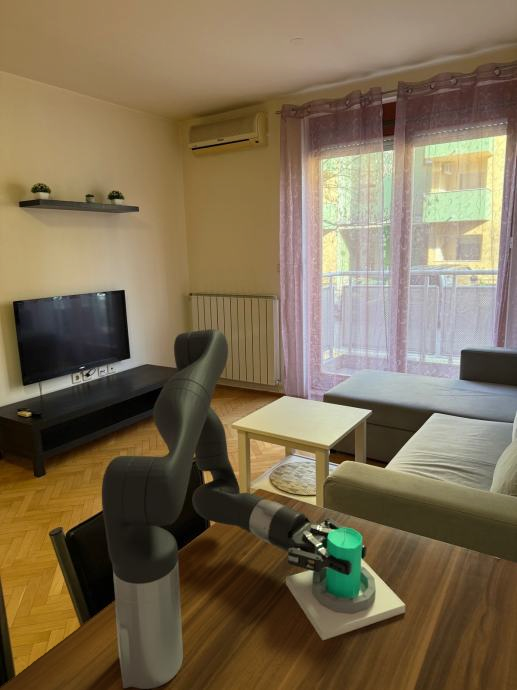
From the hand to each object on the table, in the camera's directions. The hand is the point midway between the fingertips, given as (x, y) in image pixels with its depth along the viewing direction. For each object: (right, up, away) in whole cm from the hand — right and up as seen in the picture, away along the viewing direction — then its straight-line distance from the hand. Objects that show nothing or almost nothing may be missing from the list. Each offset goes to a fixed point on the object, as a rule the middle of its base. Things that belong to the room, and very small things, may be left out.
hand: (357, 560), depth 82 cm
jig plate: (-2, -8, +3) cm, 9 cm away
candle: (-2, -7, +3) cm, 8 cm away
